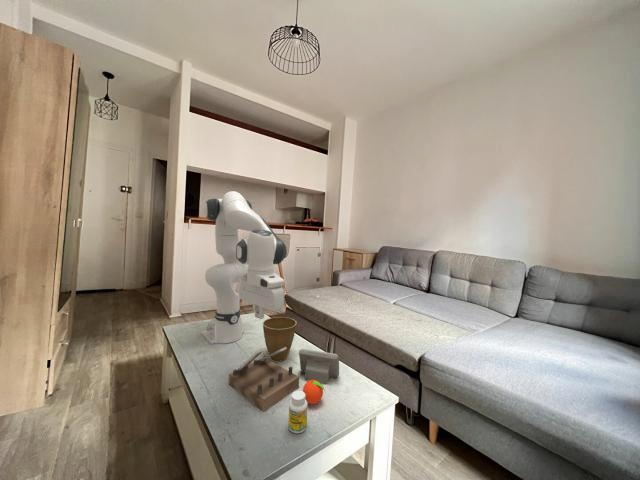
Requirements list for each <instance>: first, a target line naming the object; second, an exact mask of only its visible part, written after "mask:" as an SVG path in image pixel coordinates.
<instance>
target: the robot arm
mask: <svg viewBox="0 0 640 480" xmlns="http://www.w3.org/2000/svg"><path fill="white" fill-rule="evenodd" d="M203 212H204V215H205V217H206V219H208V220H209V221H211V222H215V227H214V231H215V232H214V236H215V251H216V253H217V254H218V255H220V256H221V257H222V259H223V262H224V263H220V264H219V263H218V264H216V265H213V266H210V267H208V268H207V270H206V272H205V274H204V275H205V277H204V279H205V282H206V284H207V285H209V286H210V287H211V288H212V289H213V291H214V292H215V297H216V310H215V311H214V312H213V313H214V317H213V318H212V319H211V320H210V321H208V322H207V326H206V329H204V330H203V331H202V333H201V334H202V335H203V337H204V338H205V340H207V342H208V343H209V344H211V345H212V344H229V343H234V342H237V341H239V340H240V339H242V338H243V337H242V336H243V334H244V331H245V330H244V329H243V322H242V317H241V308H240V306H241V305H240V301H243V302H247V303H249V304H252V309H253V312H254V317H255V318H256V319H259V320H263V319H264V318H265V312H266V311H267V310H268V311H271V312H278V311H279V312H280V311H281V310H283V308H284V305H285V291H284V285H285V280H284V279H283V278H282V277H281V276H280V275H278V274H277V273H276V272H275V266H274V265H279V264H281V263H282V262H283V261H284V260H285V258H286V257H287V254H288V250H287V249H288V248H287V246H286V244H285V242H284V241H283V240H282V239H281V238H280V237H279V236H278V235H277V234H276V233H275V232H274V231H273V229H272V228H271V226H270V225H269V223H268V222H267V221H266V220H265V219H264V218H263V217H262V216H260V215H259V214H258V213H256V212H255V211H254V210H253V206H252V202H250V201H249V200H247V199H245V198H244V196H243V195H242V194H241V193H239V192H238V191H235V190H234V191H228V192H226V193H225V194H224V195H223V196H222V198H214V197H213V198H209V199H207V200H206V202H205V203H204V207H203ZM238 230H241V231H246V232H249V235H248V237H246V238H243V239H241V240H239V231H238ZM236 283H240V284H239V290H238V291H239V292H237V291H235V289H234V284H236Z"/></svg>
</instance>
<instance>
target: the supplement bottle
mask: <svg viewBox="0 0 640 480" xmlns="http://www.w3.org/2000/svg"><path fill="white" fill-rule="evenodd" d="M307 427H308V402H307V401H306V400H305V393H304V392H303V390H294V391H293V392H291V399H290V401H289V403H288V429H289V431H290V432H291V433H294V434H300V433H303V432H305V430H306V429H307Z"/></svg>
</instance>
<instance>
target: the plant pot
mask: <svg viewBox="0 0 640 480" xmlns="http://www.w3.org/2000/svg"><path fill="white" fill-rule="evenodd" d="M262 329H263V336H264V337H263V338H264V343H265V347H266V350H267V353H268V355H270V354H272V353H274V352H276V351H278V350H280V349H282V348H284V347H286V348H287V349H285V350H283V351H281V352H279V353H277V354H275V355H273V356H271V357H269V360H270V361H272V362H274V363H280V362H284V361H286V359H287V357H288V356H289V353H290V351H291V348H292V345H293V341H294V337H295V333H296V330H297V320H295V319H294V318H291V317H286V316H285V317H284V316H276V317H269V318H266V319H265V320H264V321H263V322H262Z"/></svg>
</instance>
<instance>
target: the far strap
mask: <svg viewBox="0 0 640 480" xmlns="http://www.w3.org/2000/svg"><path fill="white" fill-rule="evenodd" d="M285 349H287V348H286V347H284V348H282V349H280V350H278V351H276V352H274V353H272V354H270V355H269V354H268V355H266V357H264V358H263V357H261V358H262V359H261V358H259V359H260V360H259V359H257V360H258V362H260V361H263V360H265V359H270V357H271V356H273V355H275V354H277V353H279V352H281V351H283V350H285Z"/></svg>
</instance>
